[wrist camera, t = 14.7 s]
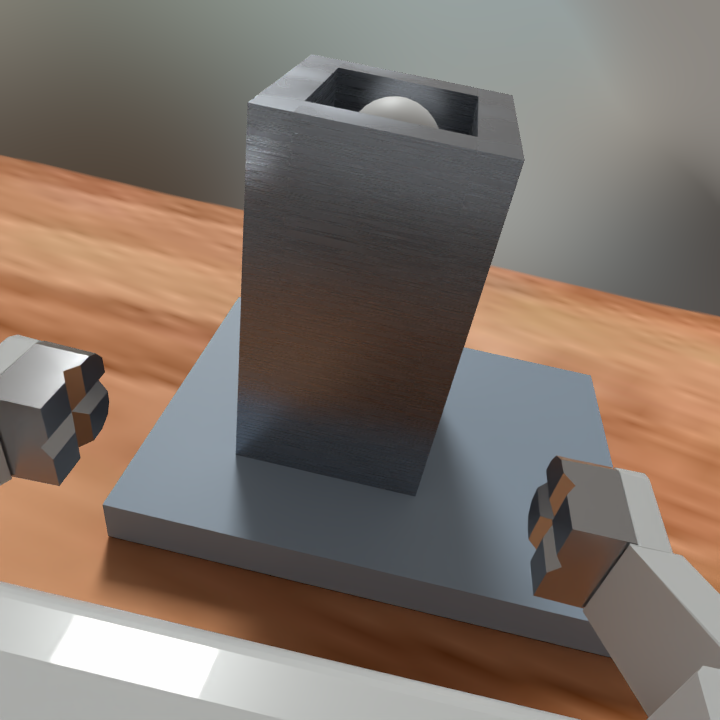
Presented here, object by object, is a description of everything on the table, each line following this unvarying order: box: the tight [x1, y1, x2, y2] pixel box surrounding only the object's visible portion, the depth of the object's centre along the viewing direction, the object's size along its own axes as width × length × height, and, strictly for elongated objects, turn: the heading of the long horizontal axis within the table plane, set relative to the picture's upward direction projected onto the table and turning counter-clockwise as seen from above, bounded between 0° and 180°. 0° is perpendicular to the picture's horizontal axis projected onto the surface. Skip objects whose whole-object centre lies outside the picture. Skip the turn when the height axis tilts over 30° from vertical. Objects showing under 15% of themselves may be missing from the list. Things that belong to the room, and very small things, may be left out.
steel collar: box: [236, 55, 524, 496], centre depth 18 cm, size 6×6×11 cm
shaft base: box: [103, 96, 613, 657], centre depth 19 cm, size 16×12×12 cm
